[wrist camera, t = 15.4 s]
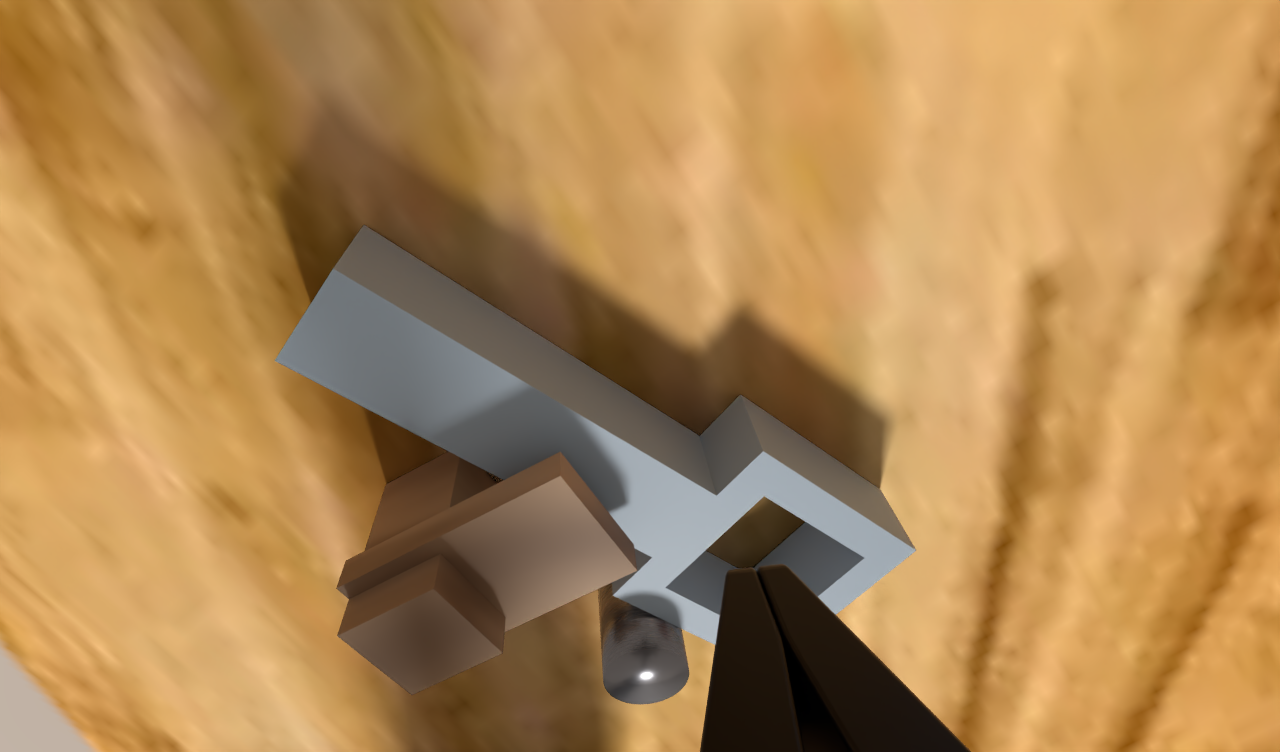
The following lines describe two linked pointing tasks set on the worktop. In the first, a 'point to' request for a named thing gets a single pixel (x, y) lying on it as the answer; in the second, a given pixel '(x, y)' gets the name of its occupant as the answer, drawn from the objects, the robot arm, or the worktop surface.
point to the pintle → (639, 652)
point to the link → (589, 435)
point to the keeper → (473, 564)
